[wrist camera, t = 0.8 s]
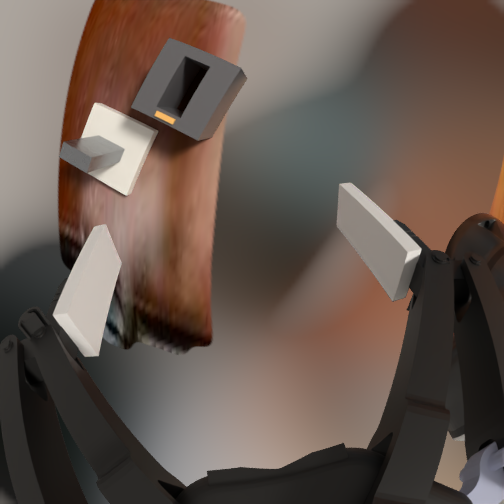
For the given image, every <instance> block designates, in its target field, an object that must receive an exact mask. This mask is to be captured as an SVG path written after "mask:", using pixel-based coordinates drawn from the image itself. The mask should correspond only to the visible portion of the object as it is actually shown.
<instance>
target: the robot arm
mask: <svg viewBox="0 0 504 504" xmlns="http://www.w3.org/2000/svg"><path fill="white" fill-rule="evenodd" d="M337 227H338V228H339V229H340V231H341V232H342V233H343V234H344V236H345V237H346V238H347V240H348V241H349V242H350V243H351V245H352V246H353V247H354V249H355V250H356V251H357V253H358V254H359V255H360V257H361V258H362V259H363V261H364V262H365V263H366V265H367V266H368V268H369V269H370V270H371V272H372V273H373V274H374V276H375V277H376V279H377V280H378V281H379V283H380V284H381V286H382V287H383V289H384V290H385V291H386V293H387V294H388V296H389V297H390V299H391V300H392V301H396V300H399V299H403V298H405V297H406V295H407V292H408V289H409V288H410V289H411V291H412V292H413V296H412V298H411V301H410V303H409V306H408V308H407V310H408V311H409V315H408V321H407V327H406V331H405V336H404V340H403V345H402V349H401V354H400V358H399V362H398V366H397V369H396V373H395V377H394V380H393V384H392V387H391V391H390V394H389V397H388V400H387V403H386V406H385V409H384V412H383V415H382V418H381V421H380V424H379V426H378V428H377V430H376V432H375V434H374V436H373V437H372V439H371V441H370V443H369V445H368V448H367V449H363V448H345V445H344V443H342V444H339V445H336V446H333V447H330V448H326V449H323V450H320V451H316V452H312V453H310V454H308V455H307V456H305V457H303V458H301V459H299V460H297V461H295V462H293V463H291V464H289V465H287V466H284V467H282V468H279V469H259V468H258V469H257V468H243V467H239V468H231V469H222V470H212V471H207V475H208V476H207V477H204V478H201V479H199V480H197V481H195V482H194V483H192V484H190V485H189V486H188V487H186V486H185V485H184V484H182V482H180V481H179V480H178V479H177V478H176V477H174V476H173V475H171V474H170V473H169V472H168V471H166V470H165V469H164V468H163V467H162V466H161V465H160V464H159V463H158V462H157V461H156V460H155V459H154V458H153V456H152V455H151V454H150V453H149V452H148V451H147V450H146V449H145V448H144V447H143V445H142V444H141V443H140V442H139V441H138V440H137V438H136V437H135V436H134V435H133V434H132V433H131V431H130V430H129V429H128V428H127V427H126V425H125V424H124V423H123V421H122V420H121V419H120V418H119V417H118V415H117V414H116V413H115V411H114V410H113V408H112V407H111V406H110V405H109V403H108V402H107V400H106V399H105V397H104V396H103V394H102V393H101V392H100V390H99V389H98V387H97V386H96V384H95V383H94V381H93V380H92V378H91V377H90V375H89V373H88V372H87V370H86V369H85V367H84V366H83V364H82V362H81V361H80V359H79V358H78V357H77V352H78V349H79V350H80V351H81V353H82V354H83V355H84V356H85V357H87V356H99V351H100V346H101V341H102V337H103V332H104V328H105V323H106V319H107V315H108V311H109V307H110V303H111V299H112V295H113V292H114V288H115V284H116V281H117V277H118V274H119V271H120V267H121V264H122V263H121V261H120V258H119V256H118V254H117V251H116V249H115V246H114V244H113V241H112V239H111V236H110V234H109V231H108V229H107V226H106V224H104V225H100V226H95V227H94V228H93V230H92V232H91V234H90V235H89V237H88V239H87V241H86V243H85V245H84V247H83V249H82V251H81V253H80V255H79V257H78V259H77V261H76V263H75V265H74V267H73V269H72V271H71V273H70V275H69V278H66V279H65V280H64V281H63V282H62V283H61V284H60V286H59V287H58V290H57V292H56V295H55V296H54V298H53V302H52V303H51V306H50V308H49V310H48V313H47V315H46V316H45V315H44V314H43V312H42V311H41V309H40V308H39V307H32V308H30V309H28V310H26V311H25V312H24V313H23V315H22V316H21V318H20V320H19V322H18V327H19V328H20V329H21V331H22V332H23V333H24V334H25V336H26V337H27V339H25V340H22V341H19V340H18V339H17V337H16V336H15V335H9V336H7V337H6V338H5V339H4V340H3V341H2V342H1V344H0V420H1V429H2V436H3V442H4V448H5V454H6V458H7V464H8V468H9V473H10V476H11V481H12V484H13V488H14V491H15V495H16V498H17V501H18V504H88V503H87V500H86V498H85V496H84V494H83V491H82V489H81V487H80V484H79V482H78V479H77V477H76V475H75V472H74V469H73V467H72V463H71V461H70V458H69V455H68V452H67V449H66V445H65V442H64V439H63V436H62V432H61V429H60V425H59V421H58V417H57V414H56V409H55V405H56V407H57V409H58V411H59V413H60V415H61V417H62V419H63V421H64V423H65V425H66V426H67V428H68V430H69V432H70V433H71V435H72V437H73V439H74V440H75V442H76V444H77V445H78V447H79V449H80V450H81V452H82V453H83V455H84V457H85V458H86V460H87V461H88V463H89V464H90V465H91V467H92V468H93V470H94V471H95V472H96V474H97V476H98V480H97V482H96V483H97V486H98V488H99V490H100V491H101V493H102V494H103V495H104V497H105V498H106V499H107V500H108V502H109V503H110V504H504V224H503V223H502V222H501V221H500V220H498V219H497V218H495V217H493V216H492V215H490V214H487V213H479V214H476V215H473V216H471V217H470V218H468V219H467V220H465V221H464V222H463V223H462V224H461V225H460V226H459V227H458V229H457V230H456V231H455V233H454V235H453V236H452V238H451V239H450V241H449V244H448V246H447V249H446V252H445V253H444V252H441V251H438V250H432V251H431V250H430V249H429V248H428V247H427V246H426V245H425V244H424V243H423V242H422V241H421V240H420V239H419V238H418V237H417V236H416V235H415V234H414V233H413V232H411V230H410V229H409V228H408V227H407V226H406V225H405V224H403V223H401V222H399V221H398V220H392V219H391V218H390V217H389V216H388V215H387V214H386V213H385V212H384V211H383V210H381V209H380V208H379V207H378V206H377V205H376V204H375V203H374V202H373V201H371V200H370V199H369V198H368V197H367V196H366V195H365V194H364V193H362V192H361V191H360V190H359V189H358V188H357V187H355V186H354V185H353V184H352V183H345V184H339V199H338V213H337ZM453 333H454V336H453ZM54 403H55V404H54ZM447 431H449V433H450V435H451V437H452V439H453V440H459V441H465V447H466V455H467V460H468V461H467V463H466V465H465V467H464V468H463V469H462V471H461V472H460V480H461V481H462V482H463V485H462V488H461V490H460V491H457V490H454V489H452V488H450V487H447V486H445V485H442V484H440V483H438V482H435V481H434V478H435V475H436V472H437V469H438V465H439V462H440V459H441V455H442V451H443V448H444V444H445V440H446V436H447Z"/></svg>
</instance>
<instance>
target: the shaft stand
mask: <svg viewBox="0 0 504 504" xmlns="http://www.w3.org/2000/svg"><path fill="white" fill-rule="evenodd" d="M157 134H158V130H156V129H154V128H152V127H150V126H148V125H146V124H144V123H142V122H140V121H138V120H136V119H134V118H131V117H129V116H127V115H125V114H123V113H121V112H119V111H117V110H115V109H112V108H110V107H108V106H106V105H104V104H101V103H94V106H93V108H92V111H91V113H90V116H89V118H88V121H87V123H86V126H85V129H84V131H83V134H82V137H81V138H80V139H75V140H70V141H65V142H63V146H62V149H61V152H60V156H59V157H60V158H62V159H64V160H65V161H67V162H69V163H70V164H72V165H74V166H75V167H77V168H79V169H80V170H82V171H84V172H85V173H88V174H90V175H92V176H93V177H95V178H97V179H98V180H100V181H102V182H103V183H105V184H107V185H109V186H110V187H112V188H114V189H115V190H117V191H119V192H121V193H122V194H124V195H126V196H127V195H129V194H131V193H132V190H133V188H134V185H135V183H136V180H137V178H138V175H139V173H140V171H141V168H142V166H143V164H144V162H145V159H146V157H147V155H148V153H149V150H150V148H151V146H152V144H153V142H154V140H155V138H156V136H157Z"/></svg>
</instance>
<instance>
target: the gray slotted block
mask: <svg viewBox="0 0 504 504" xmlns="http://www.w3.org/2000/svg"><path fill="white" fill-rule="evenodd" d="M200 68H204V69H206V70H208V72H207V73H206V75H205V76H204V78H203V80H202V81H201V83H200V85H199V86H198V88H197V90H196V91H195V93H194V95H193V97H192V98H191V100H190V102H189V104H188V105H187V107H186V109H185V111H184V112H183V111H181V110H179V109H177V108H178V106H179V104H180V103H181V101H182V99H183V97H184V95H185V94H186V92H187V90H188V88H189V87H190V85H191V83H192V82H193V80H194V78H195V77H196V75H197V73H198V72H199V70H200ZM246 80H247V77H246V75H245V74H244V72H243V70H242V69H241V68H240V67H238V66H236V65H234V64H231V63H229V62H227V61H225V60H223V59H221V58H218V57H216V56H214V55H212V54H209V53H207V52H205V51H202V50H200V49H197V48H195V47H192V46H190V45H187V44H185V43H182V42H179V41H176V40H174V39H171V38H169V39H168V41H167V43H166V44H165V46H164V47H163V49H162V51H161V52H160V54H159V56H158V57H157V59H156V61H155V63H154V64H153V66H152V68H151V70H150V71H149V73H148V75H147V77H146V79H145V81H144V83H143V84H142V86H141V88H140V90H139V92H138V94H137V96H136V98H135V100H134V102H133V104H132V106H131V108H133V109H135V110H137V111H140V112H142V113H144V114H146V115H148V116H150V117H152V118H154V119H156V120H158V121H160V122H162V123H164V124H166V125H168V126H170V127H172V128H174V129H176V130H178V131H180V132H182V133H184V134H186V135H188V136H190V137H192V138H194V139H196V140H197V141H199V140H203V139H207V138H212V136H213V134H214V133H215V131H216V129H217V128H218V126H219V124H220V122H221V121H222V119H223V117H224V116H225V114H226V112H227V111H228V109H229V107H230V106H231V104H232V102H233V101H234V99H235V98H236V96H237V94H238V93H239V91H240V89H241V88H242V86H243V85H244V83H245V82H246Z"/></svg>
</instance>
